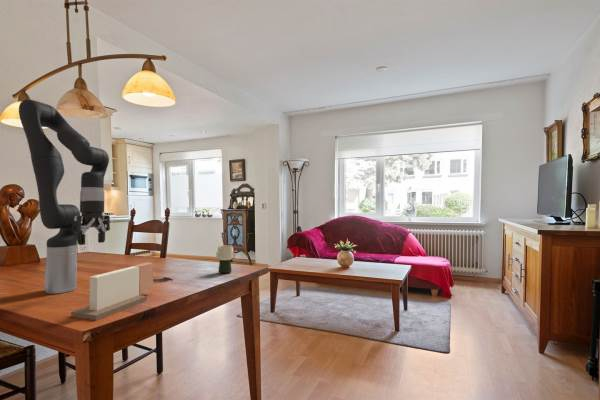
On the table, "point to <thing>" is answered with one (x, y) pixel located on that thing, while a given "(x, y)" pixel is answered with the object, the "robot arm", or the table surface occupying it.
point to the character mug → (225, 258)
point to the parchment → (160, 280)
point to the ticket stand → (111, 294)
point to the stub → (145, 277)
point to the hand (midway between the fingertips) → (91, 243)
